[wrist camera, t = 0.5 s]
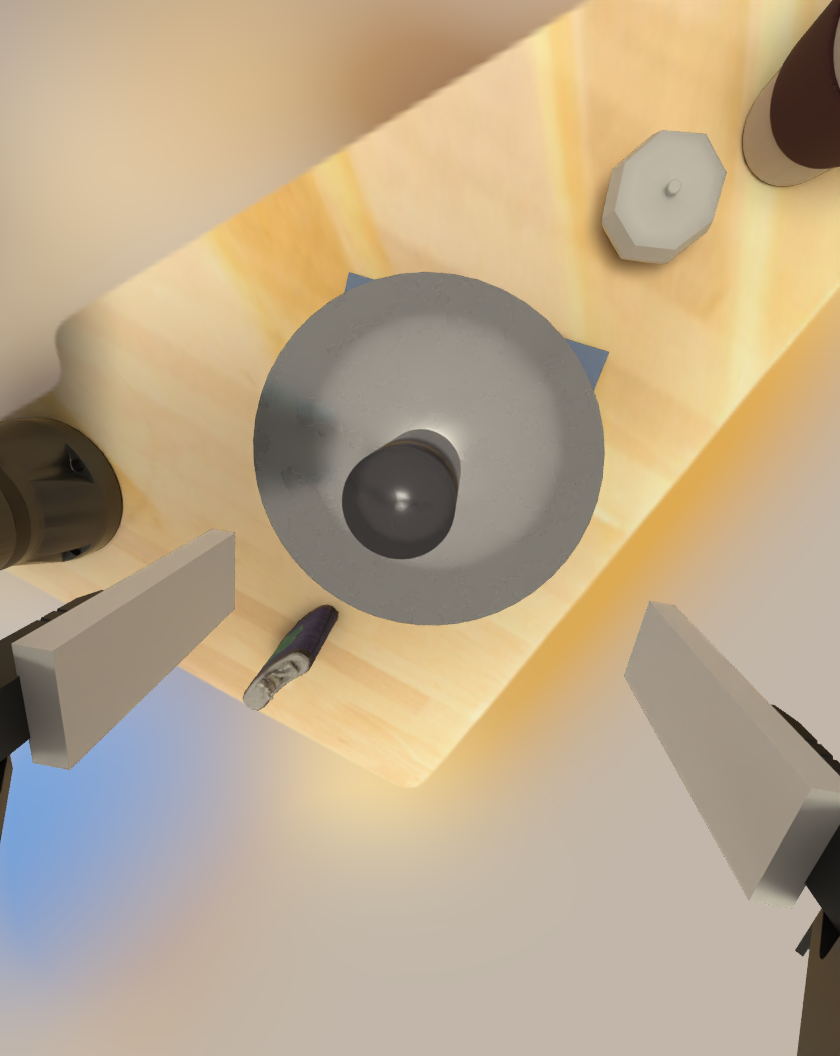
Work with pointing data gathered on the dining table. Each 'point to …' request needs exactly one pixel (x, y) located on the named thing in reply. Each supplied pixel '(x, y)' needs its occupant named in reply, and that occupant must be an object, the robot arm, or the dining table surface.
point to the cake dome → (428, 448)
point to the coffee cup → (799, 110)
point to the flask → (291, 656)
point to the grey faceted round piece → (663, 196)
